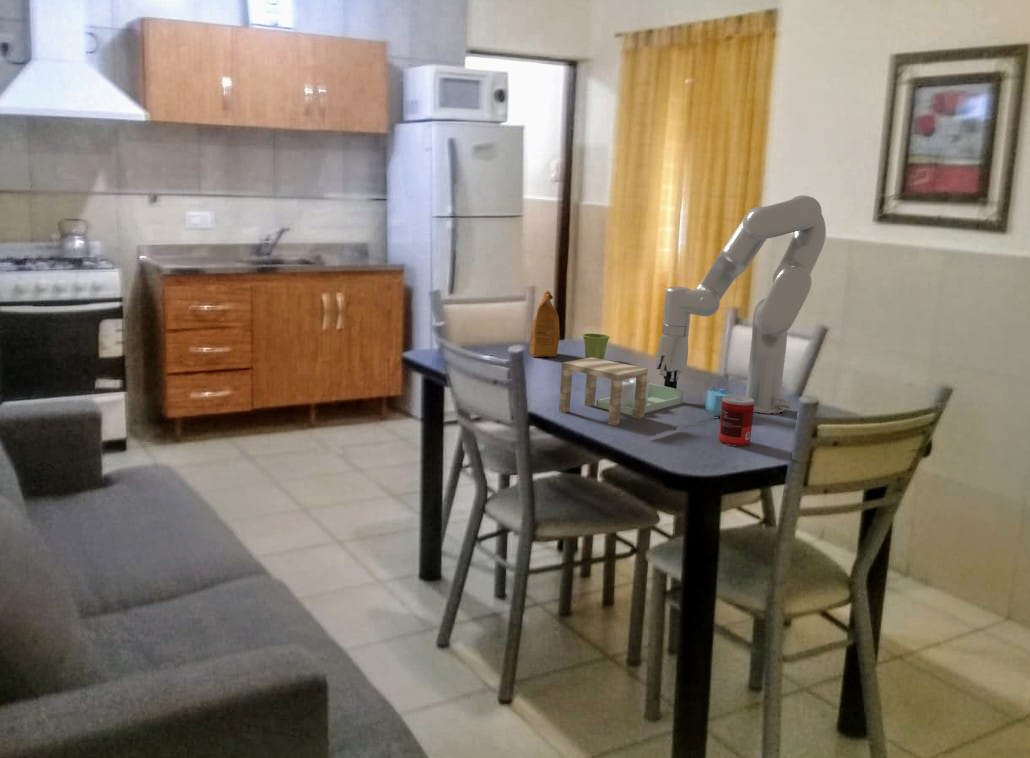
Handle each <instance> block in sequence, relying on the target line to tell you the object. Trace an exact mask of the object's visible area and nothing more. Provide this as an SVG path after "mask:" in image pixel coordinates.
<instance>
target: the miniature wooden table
mask: <svg viewBox="0 0 1030 758" xmlns="http://www.w3.org/2000/svg"><path fill="white" fill-rule="evenodd" d="M648 371H649V370H648V368H645V367H640V366H637V365H631V364H628V363H627V364H626V363H622V362H617V361H612V360H607V359H604V360H603V359H598V358H593V357H591V358H586V357H585V358H580V359H576V360H570V361H569V360H568V361H563V362H562V363H561V372H560V390H559V403H558V404H559V405H558V412H559V413H563V414H567V413H570V411H571V399H572V398H571V395H572V383H573V382H572V380H573V372H577V373H581V374H586V378H585V379H586V380H585V389H584V390H585V393H584V394H585V395H584V406H586V407H588V408H589V407H590V408H591V407H595V406H596V395H597V390H596V389H597V379H598V378H597V377H600V378H604V379H610V395H609V397H610V405H609V410H608V422H607V425H611V426H614V427H615V426H618V425H620V417H621V413H620V407H621V394H622V382H624V381H623V380H629V379H634V378H636V387H635V400H634V412H633V416H632V418H634V419H638V420H640V419H644V418H645V413H644V409H645V397H646V385H647V380H648Z"/></svg>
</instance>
